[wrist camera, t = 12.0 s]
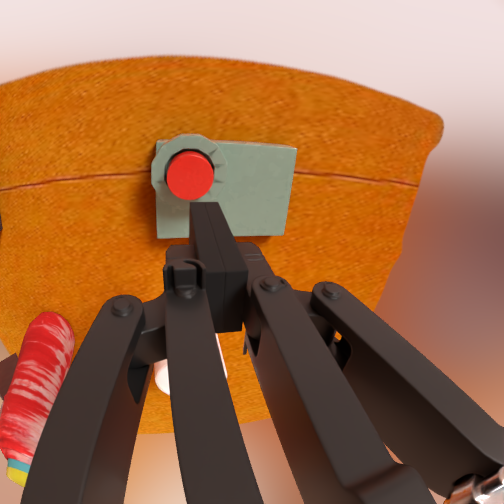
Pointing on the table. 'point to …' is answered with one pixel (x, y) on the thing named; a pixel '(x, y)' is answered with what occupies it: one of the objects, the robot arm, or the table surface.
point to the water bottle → (32, 389)
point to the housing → (228, 185)
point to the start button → (189, 175)
